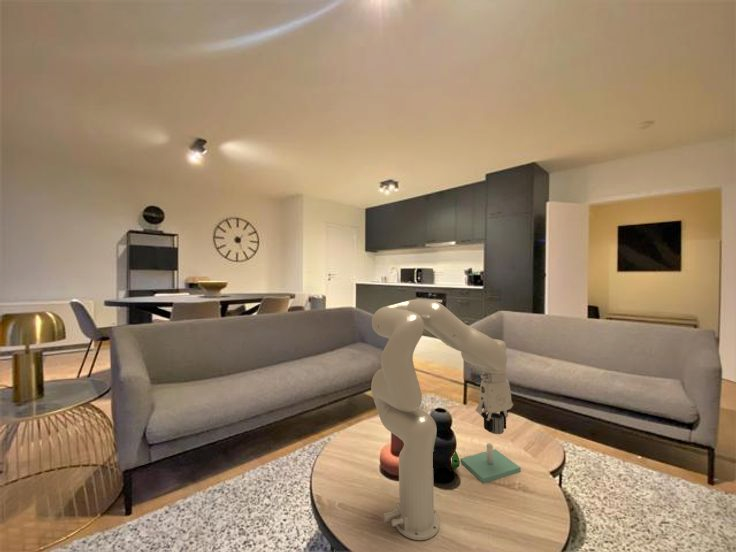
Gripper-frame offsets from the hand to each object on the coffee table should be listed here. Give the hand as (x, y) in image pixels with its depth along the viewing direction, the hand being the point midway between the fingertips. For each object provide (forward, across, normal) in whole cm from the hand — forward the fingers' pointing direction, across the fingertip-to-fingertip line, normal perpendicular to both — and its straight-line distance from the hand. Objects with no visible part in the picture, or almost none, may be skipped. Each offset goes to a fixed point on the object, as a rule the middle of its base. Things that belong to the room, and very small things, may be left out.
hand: (495, 428), depth 108 cm
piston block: (+16, 0, +3) cm, 16 cm away
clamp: (+16, -16, +8) cm, 24 cm away
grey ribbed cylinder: (+1, 0, 0) cm, 1 cm away
